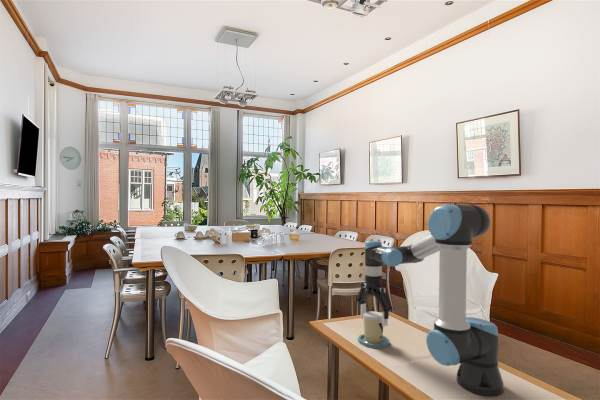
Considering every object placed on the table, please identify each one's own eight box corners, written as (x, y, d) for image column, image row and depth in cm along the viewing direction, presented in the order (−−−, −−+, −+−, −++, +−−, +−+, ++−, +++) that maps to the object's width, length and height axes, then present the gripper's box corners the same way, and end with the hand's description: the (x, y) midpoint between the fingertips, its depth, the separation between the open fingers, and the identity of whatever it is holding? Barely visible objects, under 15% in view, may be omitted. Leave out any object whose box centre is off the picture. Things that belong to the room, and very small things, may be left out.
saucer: (395, 344, 163) (395, 340, 163) (373, 351, 155) (373, 347, 155) (373, 334, 174) (373, 331, 174) (351, 340, 167) (351, 337, 167)
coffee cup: (384, 345, 159) (384, 318, 159) (362, 343, 161) (362, 316, 161) (383, 337, 168) (383, 311, 168) (363, 336, 170) (363, 310, 170)
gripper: (400, 278, 156) (400, 327, 156) (360, 269, 177) (360, 313, 177) (388, 280, 152) (388, 331, 152) (349, 271, 173) (349, 316, 173)
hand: (373, 321), depth 164 cm, fingers open, 13 cm apart
